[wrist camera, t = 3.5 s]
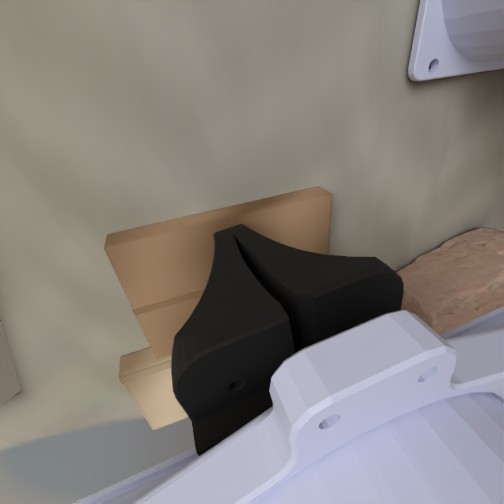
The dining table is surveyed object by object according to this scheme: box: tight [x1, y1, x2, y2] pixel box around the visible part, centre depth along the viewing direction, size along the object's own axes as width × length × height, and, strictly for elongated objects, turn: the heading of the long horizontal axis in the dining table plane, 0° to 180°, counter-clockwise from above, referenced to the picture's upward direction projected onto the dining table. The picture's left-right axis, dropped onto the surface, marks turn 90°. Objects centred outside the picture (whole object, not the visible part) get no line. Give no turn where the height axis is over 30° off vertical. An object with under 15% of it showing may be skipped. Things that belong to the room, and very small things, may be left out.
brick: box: [396, 228, 504, 335], centre depth 22 cm, size 17×8×5 cm, turn 24°
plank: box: [104, 186, 332, 359], centre depth 14 cm, size 10×7×1 cm
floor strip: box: [119, 347, 188, 430], centre depth 18 cm, size 13×6×1 cm, turn 96°
